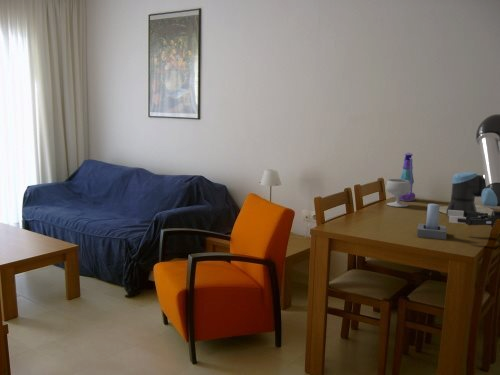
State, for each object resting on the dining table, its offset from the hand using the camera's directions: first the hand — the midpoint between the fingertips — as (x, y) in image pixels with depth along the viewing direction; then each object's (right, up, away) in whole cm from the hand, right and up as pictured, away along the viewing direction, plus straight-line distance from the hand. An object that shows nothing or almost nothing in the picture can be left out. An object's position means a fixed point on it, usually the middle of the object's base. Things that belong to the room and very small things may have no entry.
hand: (448, 215), depth 211 cm
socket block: (-6, -9, +4) cm, 12 cm away
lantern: (+10, +5, +88) cm, 89 cm away
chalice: (-1, +2, +70) cm, 70 cm away
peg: (-6, -9, +4) cm, 12 cm away
